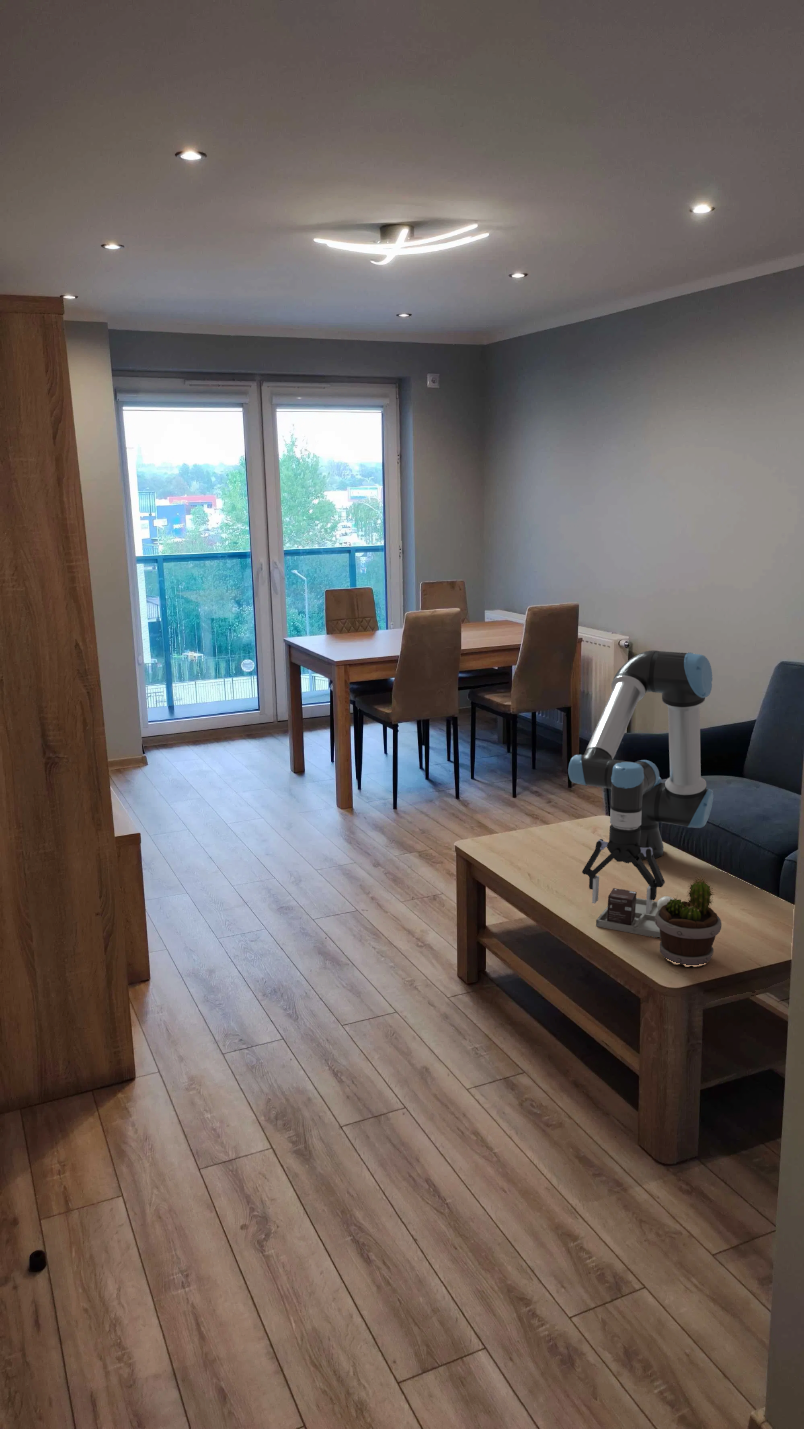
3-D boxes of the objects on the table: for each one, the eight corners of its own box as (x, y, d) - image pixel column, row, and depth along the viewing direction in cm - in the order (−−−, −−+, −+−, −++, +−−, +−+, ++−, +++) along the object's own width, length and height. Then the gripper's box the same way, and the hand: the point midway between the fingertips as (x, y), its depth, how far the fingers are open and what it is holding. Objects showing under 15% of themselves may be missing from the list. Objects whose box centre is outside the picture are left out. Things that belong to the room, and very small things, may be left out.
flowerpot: (681, 978, 224) (687, 894, 220) (639, 951, 237) (643, 870, 233) (733, 967, 229) (739, 884, 225) (689, 940, 243) (694, 862, 239)
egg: (659, 909, 260) (659, 892, 260) (677, 912, 258) (678, 895, 257) (654, 916, 256) (655, 898, 255) (673, 919, 254) (674, 901, 253)
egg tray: (617, 900, 268) (617, 894, 268) (689, 913, 259) (690, 907, 259) (596, 926, 252) (596, 920, 251) (672, 941, 243) (673, 934, 243)
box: (606, 923, 252) (607, 895, 250) (611, 914, 257) (612, 887, 256) (630, 927, 250) (632, 899, 248) (635, 918, 255) (636, 891, 253)
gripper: (571, 822, 251) (568, 902, 255) (672, 837, 239) (668, 921, 244) (581, 814, 257) (578, 892, 262) (679, 828, 246) (675, 910, 250)
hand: (621, 906), depth 253 cm, fingers open, 13 cm apart
